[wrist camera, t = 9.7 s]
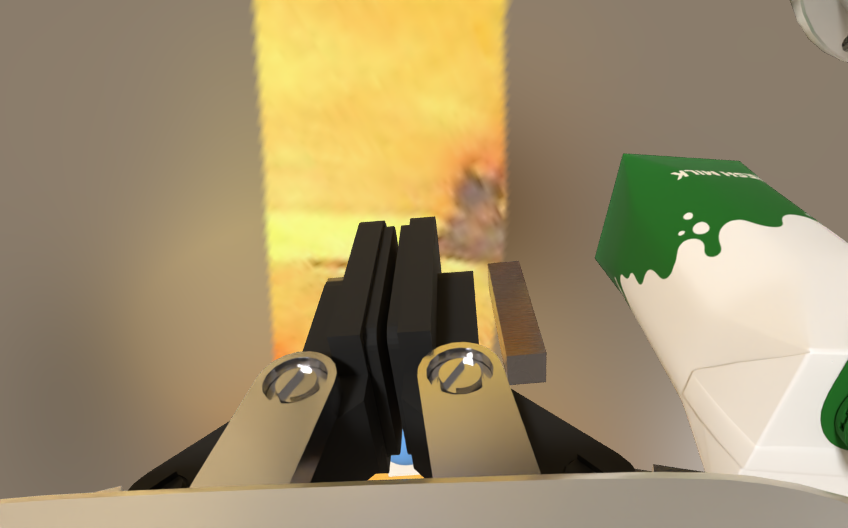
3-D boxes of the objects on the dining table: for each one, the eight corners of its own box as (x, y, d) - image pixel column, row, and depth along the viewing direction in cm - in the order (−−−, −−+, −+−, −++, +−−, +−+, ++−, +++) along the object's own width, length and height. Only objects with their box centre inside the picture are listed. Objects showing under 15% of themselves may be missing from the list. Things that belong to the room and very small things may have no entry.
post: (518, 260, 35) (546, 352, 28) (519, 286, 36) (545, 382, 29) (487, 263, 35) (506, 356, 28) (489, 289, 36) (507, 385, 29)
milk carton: (760, 146, 31) (1167, 402, 14) (707, 278, 36) (965, 590, 19) (610, 136, 31) (844, 387, 14) (576, 270, 36) (720, 582, 19)
